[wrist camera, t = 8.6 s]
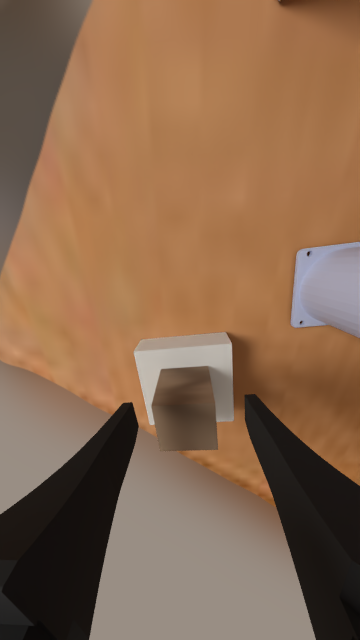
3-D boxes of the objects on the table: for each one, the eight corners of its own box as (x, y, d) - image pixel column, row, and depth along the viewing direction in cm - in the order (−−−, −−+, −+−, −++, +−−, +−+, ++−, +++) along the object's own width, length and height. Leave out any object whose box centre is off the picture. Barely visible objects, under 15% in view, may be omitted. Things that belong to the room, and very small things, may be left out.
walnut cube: (208, 365, 18) (215, 402, 13) (210, 404, 19) (217, 449, 15) (160, 369, 18) (151, 406, 14) (167, 406, 20) (160, 451, 15)
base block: (225, 331, 20) (231, 343, 17) (228, 401, 23) (233, 420, 20) (141, 339, 21) (133, 351, 18) (154, 405, 24) (149, 424, 21)
